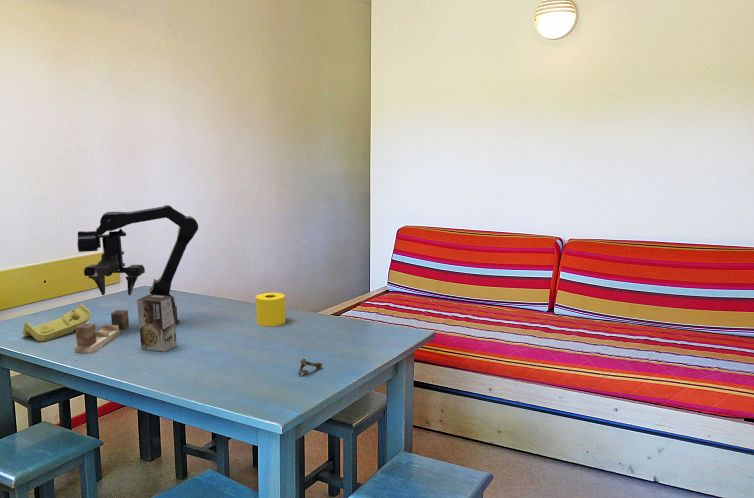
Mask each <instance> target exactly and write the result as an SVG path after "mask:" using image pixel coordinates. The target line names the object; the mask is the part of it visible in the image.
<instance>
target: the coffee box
mask: <svg viewBox="0 0 754 498" xmlns="http://www.w3.org/2000/svg"><path fill="white" fill-rule="evenodd" d="M173 297H174V296H173V295H171V296H163V295H151V294H147V295H144V296H143V297H141V298H137V299H136V304H137V316H138V324H139V325H138V326H139V327H138V328H139V338H140V349H141V350H149V351H156V352H157V351H158V352H167V351H168V350H171V349H173V348H175V347H177V346H178V344H177V331H176V324H175V315H174V301H173Z"/></svg>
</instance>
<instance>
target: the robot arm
mask: <svg viewBox="0 0 754 498" xmlns="http://www.w3.org/2000/svg"><path fill="white" fill-rule="evenodd" d="M159 219H168V220H169V221H171V222H173V223H174V224H175V225H177V226H178V231H177V236H176V240H175V243H174V245H173V248H172V250H171V252H170V254H169V257H168V259H167V262H166V264H165V266H164V269H163V270H162V271H163V272H162V274H161V276H160V277H159V278H158V279H155V278H154V279H153V282H152V285H151V287H149V295H163V296H172V294H170V292H171V287H172V283H173V279H174V276H175V274H176V272H177V270H178V267H179V265H180V262H181V260H182V259H183V257H184V256H183V255H184V254H185V251H186V249H187V247H188V245H189V243H190V242H191V241H192V239H194V237H195V235H196V234H197V232H198V230H199V224H198V221H197V220H196V218H194V217H193V216H190V215H188V216H186V215H185V214H184V213H182V212H180V211H178V210H177V209H175V208H173V206H171V205H170V204H165V205H163V206H158V207H151V208H145V209H139V210H135V211H134V210H133V211H107V212H105V213H103V214H102V216H101V218H100V220H99V226H98V227H96V229H95V230H92V231H83V230H82V231H81V230H79V231H77V243H76V244H77V250H78V253H89V252H97V251H98V250H99V249H100V248H101V247H102V251H103V253H102V254H101V256H100V257H101V258H100V261H99V262H98V263H97V264H90V265H88V266H86V267H84V269H83V276H85V277H88V279H91V280H92V281H94V282H95V284H96V286H97V287H98V290H99V292H100V294H101V295H102V296H105V294H106V278H105V277H110V276H112V275H113V274H125V275H127V276H125V279H126V281H127V282H126V284H127V292H128V294H127V295H128V296H131V295H132V293H133V290H134V287H135V284H136V282H137V280H138V278H139V277H140V276H142V275H143V274H144V273H146V270H145V267H144V265H143V264H131V265H129V266H126V263H125V262H124V259H123V255H124V254H125V252H124V250H122V249H123V248H122V239H121V238H122V237H126V236H127V232H125V231H124V230H123V229H122V228H124V227H126V226H129V225H132V224H136V223H142V222H143V223H144V222H148V221H153V220H154V221H155V220H159ZM107 232H108V233H107ZM105 233H107V234H105ZM101 240H102V242H101ZM101 245H102V246H101ZM173 301H174V315H175V325H177V324H178V323H179V322H180V319H178V307H177V305H176V301H175V297H174V296H173Z"/></svg>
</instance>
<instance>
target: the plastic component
mask: <svg viewBox="0 0 754 498" xmlns="http://www.w3.org/2000/svg"><path fill="white" fill-rule="evenodd" d="M91 317H92V313H91V311H90V310H89V308H87V307H86V306H85V305H84V304H79V305H77V306H76V308H74V309H71V310H70V311H68V312H66V313H64V315H63V316H62V317H59V318H56V319H54V320H50V321H47V322H45V323H42V324H38V325H36V326H33V325H32V324H31V323H29V322H25V323H24V325H23V328H22V335H24V336H25V337H31V336H32V337H33V338H34V339H35V340H36V341H37V342H47V341H51V340H53V339H56V338H59V337H62V336H65V335H67V334H70V333H74V331H75V330H76V329H75V327H77V326H79V325H81V324H87V322H88V321H89V320H90V318H91Z"/></svg>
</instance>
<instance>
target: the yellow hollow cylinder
mask: <svg viewBox="0 0 754 498" xmlns="http://www.w3.org/2000/svg"><path fill="white" fill-rule="evenodd" d="M285 297H286V295H285V294H284V293H280V292H265V293H260V294H258V295H256V296H255V305H256V306H255V311H256V324H257V325H258V326H262V327H277V326H281V325H284V324H285V323H286V298H285Z"/></svg>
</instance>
